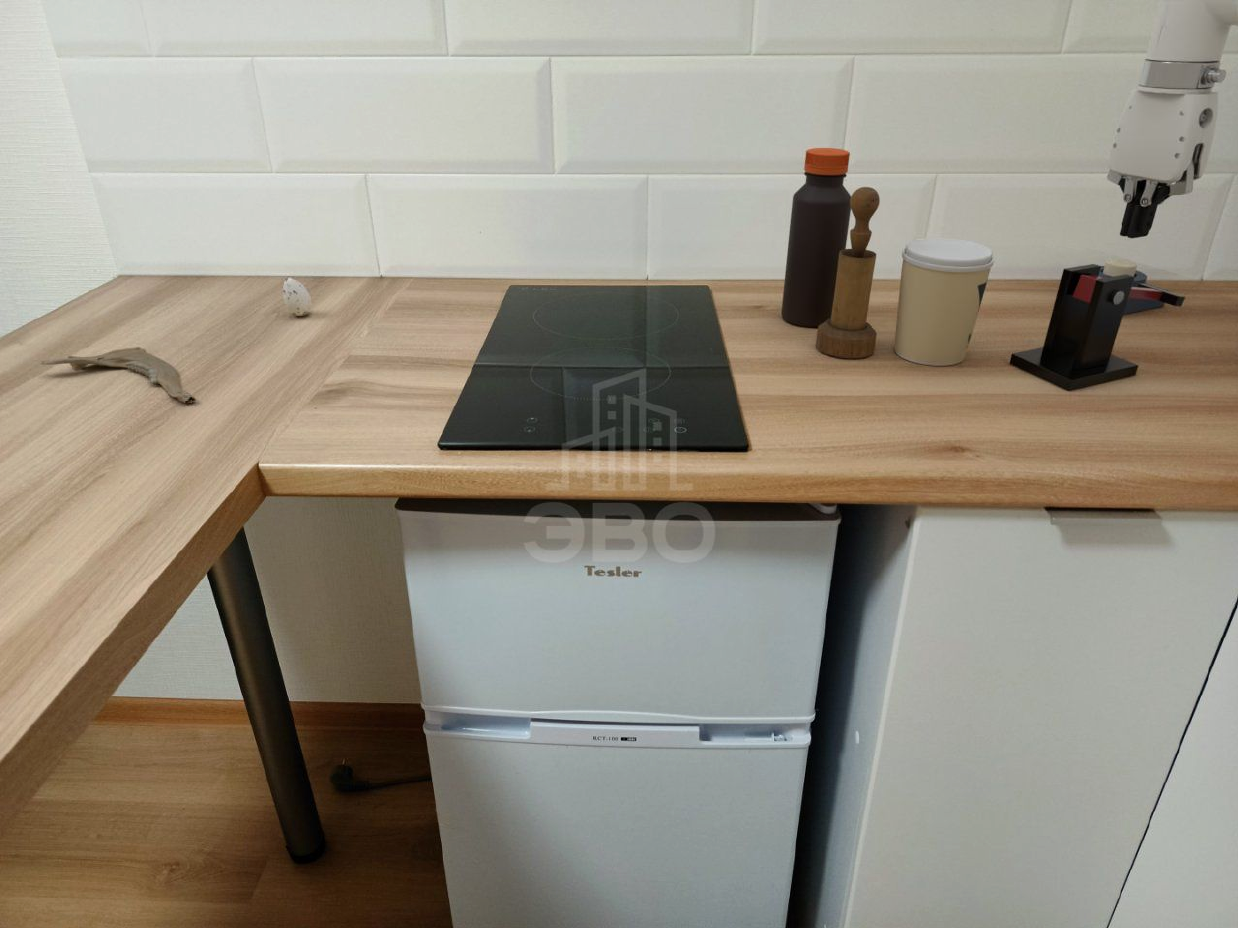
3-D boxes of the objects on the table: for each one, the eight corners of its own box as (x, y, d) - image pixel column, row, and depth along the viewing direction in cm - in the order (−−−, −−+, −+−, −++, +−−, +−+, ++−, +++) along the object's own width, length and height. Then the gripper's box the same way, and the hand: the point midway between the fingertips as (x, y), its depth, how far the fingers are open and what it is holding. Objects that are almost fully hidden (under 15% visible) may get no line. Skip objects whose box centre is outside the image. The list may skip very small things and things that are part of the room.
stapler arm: (1137, 299, 97) (1146, 278, 96) (1178, 312, 93) (1188, 291, 92) (1061, 293, 91) (1069, 270, 90) (1101, 307, 87) (1110, 284, 86)
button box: (1110, 289, 118) (1118, 260, 116) (1163, 306, 112) (1173, 276, 110) (1057, 298, 115) (1065, 269, 113) (1109, 317, 108) (1118, 286, 106)
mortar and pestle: (881, 345, 100) (906, 186, 91) (864, 363, 95) (890, 197, 86) (825, 334, 103) (845, 179, 94) (807, 352, 98) (826, 190, 89)
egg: (314, 318, 108) (307, 279, 105) (287, 321, 107) (280, 282, 104) (312, 310, 110) (305, 272, 108) (286, 313, 109) (278, 274, 107)
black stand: (1074, 349, 99) (1100, 257, 93) (1135, 375, 92) (1167, 277, 87) (1008, 363, 95) (1032, 268, 90) (1068, 391, 89) (1097, 290, 84)
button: (1115, 270, 113) (1119, 257, 113) (1139, 278, 111) (1143, 264, 110) (1096, 274, 112) (1099, 260, 111) (1120, 281, 109) (1124, 268, 108)
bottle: (812, 332, 103) (833, 159, 94) (769, 317, 108) (785, 150, 98) (847, 319, 107) (870, 152, 97) (804, 306, 112) (822, 144, 102)
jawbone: (115, 354, 99) (111, 337, 98) (256, 383, 93) (254, 365, 92) (42, 377, 92) (38, 358, 91) (191, 410, 85) (187, 391, 84)
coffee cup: (986, 368, 94) (1011, 260, 88) (902, 370, 94) (921, 261, 88) (953, 337, 102) (973, 236, 96) (875, 338, 102) (891, 237, 96)
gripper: (1263, 81, 95) (1210, 246, 104) (1142, 71, 107) (1103, 220, 116) (1217, 84, 92) (1167, 254, 101) (1098, 74, 104) (1063, 226, 113)
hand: (1133, 235), depth 109 cm, fingers closed
